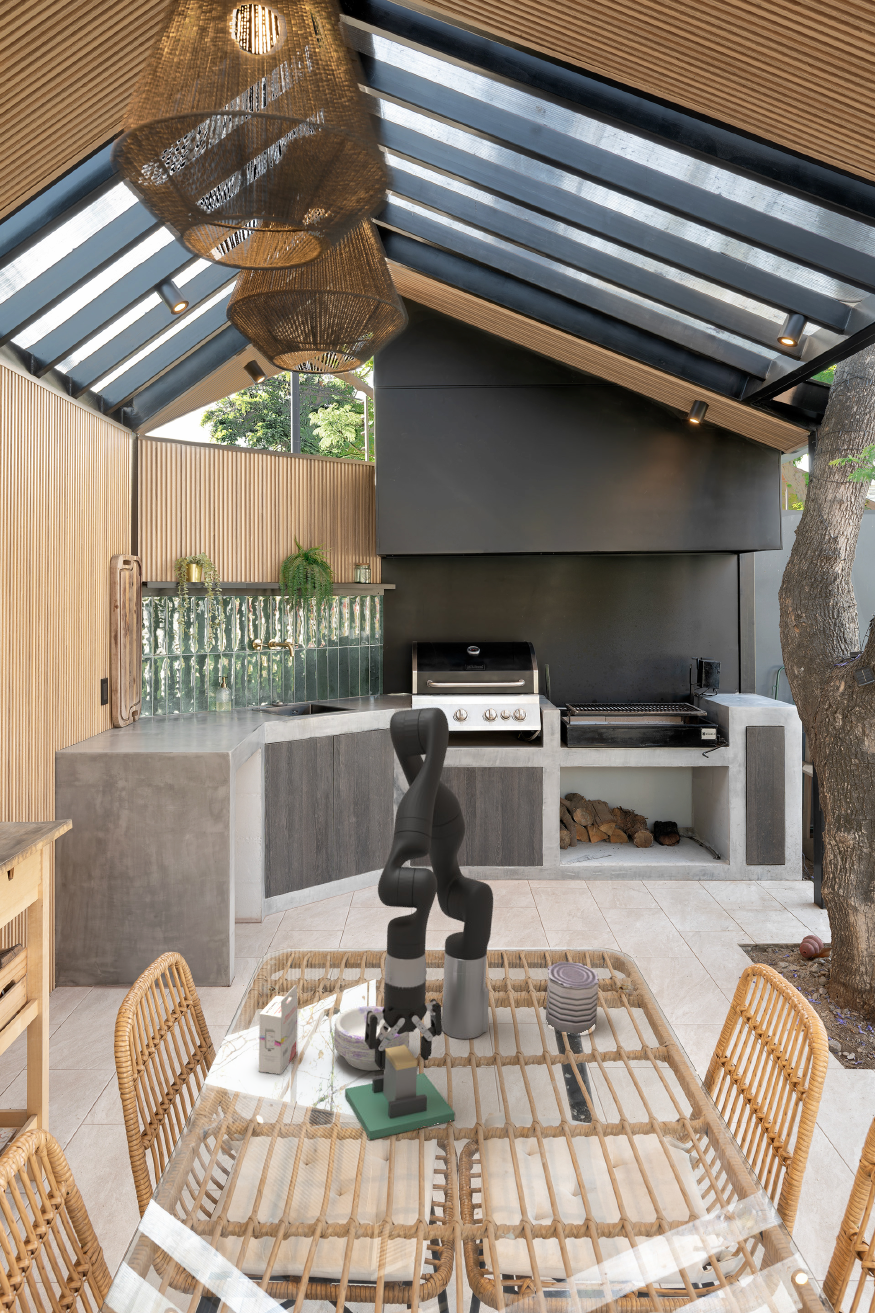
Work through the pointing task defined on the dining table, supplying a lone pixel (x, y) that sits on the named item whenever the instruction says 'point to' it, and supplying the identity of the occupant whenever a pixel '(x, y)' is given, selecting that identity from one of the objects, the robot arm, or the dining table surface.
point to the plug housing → (399, 1074)
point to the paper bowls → (360, 1038)
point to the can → (571, 997)
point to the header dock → (397, 1108)
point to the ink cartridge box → (278, 1033)
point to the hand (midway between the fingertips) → (402, 1063)
